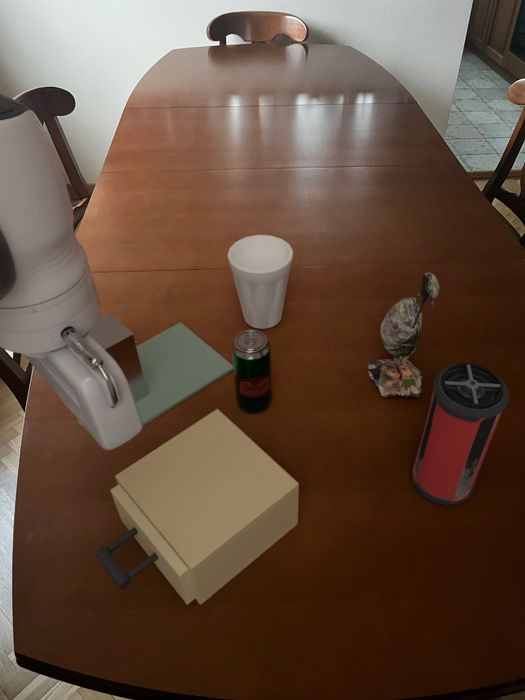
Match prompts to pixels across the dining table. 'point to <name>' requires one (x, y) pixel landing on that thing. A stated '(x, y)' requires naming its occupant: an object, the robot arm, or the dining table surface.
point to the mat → (176, 369)
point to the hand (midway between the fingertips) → (82, 413)
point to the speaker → (458, 431)
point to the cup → (261, 277)
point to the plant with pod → (402, 344)
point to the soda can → (252, 370)
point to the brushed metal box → (121, 351)
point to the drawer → (150, 543)
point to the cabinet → (213, 499)
